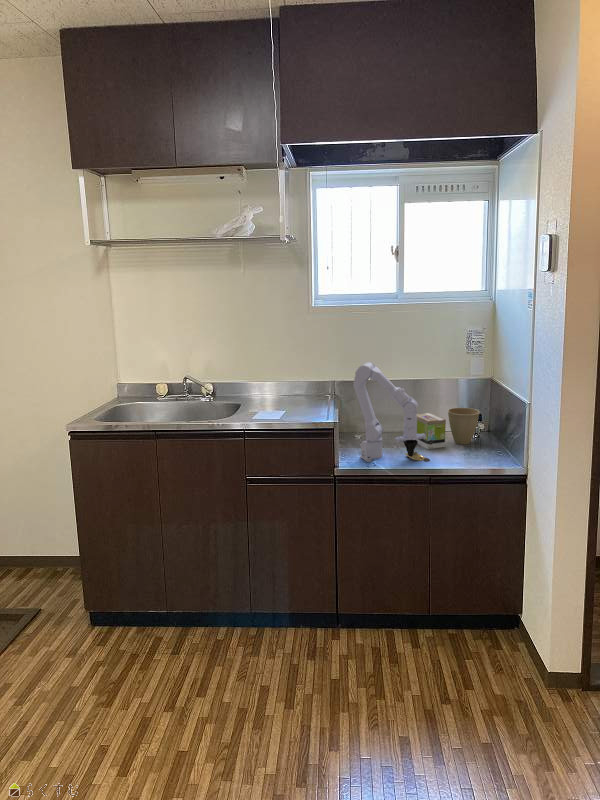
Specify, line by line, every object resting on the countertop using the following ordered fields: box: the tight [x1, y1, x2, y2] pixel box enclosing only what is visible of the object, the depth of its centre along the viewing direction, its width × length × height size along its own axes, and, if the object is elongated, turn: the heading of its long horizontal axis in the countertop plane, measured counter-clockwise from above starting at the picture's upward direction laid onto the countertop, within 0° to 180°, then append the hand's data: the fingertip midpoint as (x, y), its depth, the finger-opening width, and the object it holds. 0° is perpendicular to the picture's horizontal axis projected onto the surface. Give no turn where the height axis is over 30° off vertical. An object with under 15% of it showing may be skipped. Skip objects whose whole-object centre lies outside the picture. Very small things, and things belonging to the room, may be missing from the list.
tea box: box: [416, 412, 447, 450], centre depth 293 cm, size 15×10×15 cm, turn 18°
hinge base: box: [413, 450, 431, 463], centre depth 276 cm, size 10×12×2 cm
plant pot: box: [447, 407, 480, 445], centre depth 296 cm, size 15×15×16 cm
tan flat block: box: [404, 452, 426, 462], centre depth 274 cm, size 7×8×2 cm
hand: (410, 455), depth 272 cm, fingers closed, pressing on tan flat block
